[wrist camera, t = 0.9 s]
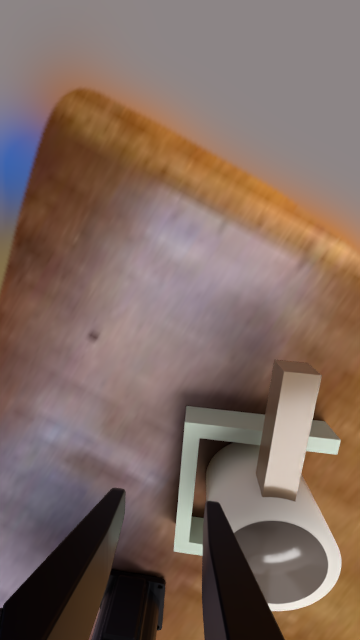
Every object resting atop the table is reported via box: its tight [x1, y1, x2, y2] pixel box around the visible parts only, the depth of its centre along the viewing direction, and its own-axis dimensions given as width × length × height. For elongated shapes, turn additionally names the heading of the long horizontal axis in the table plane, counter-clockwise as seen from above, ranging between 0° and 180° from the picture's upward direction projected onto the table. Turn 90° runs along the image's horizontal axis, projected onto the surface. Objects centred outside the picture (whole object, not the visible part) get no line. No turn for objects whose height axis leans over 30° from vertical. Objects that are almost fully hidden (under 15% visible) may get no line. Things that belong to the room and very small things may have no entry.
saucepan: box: [206, 360, 341, 611], centre depth 17 cm, size 16×8×6 cm, turn 176°
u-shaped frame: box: [174, 406, 341, 556], centre depth 20 cm, size 12×11×2 cm
